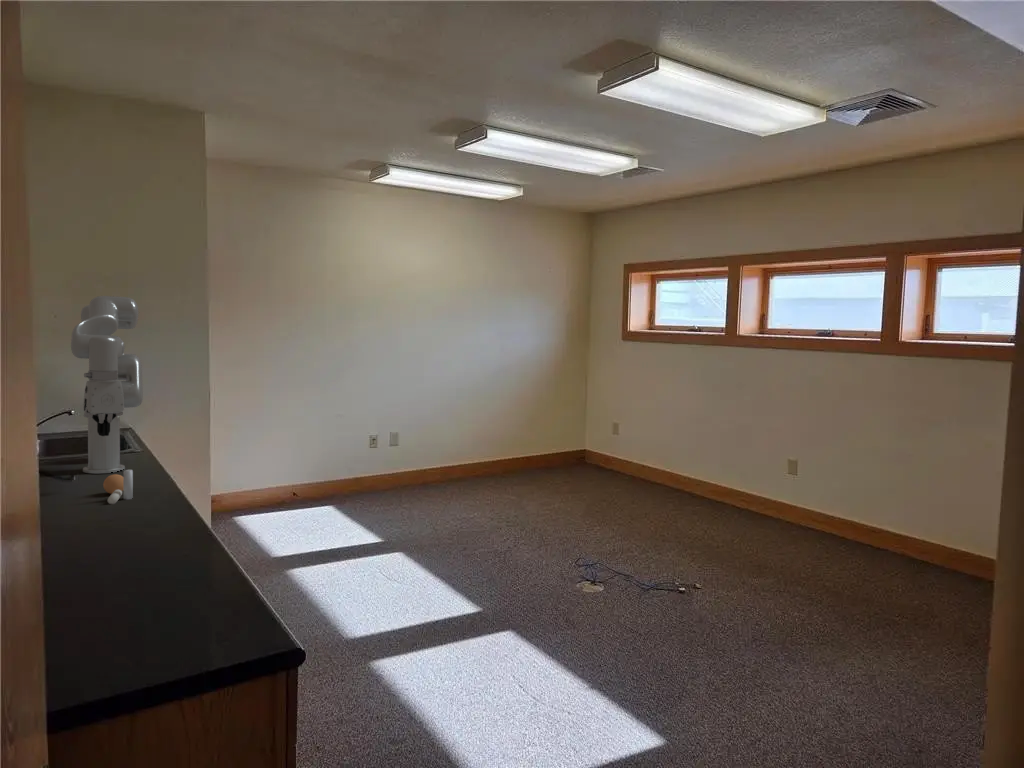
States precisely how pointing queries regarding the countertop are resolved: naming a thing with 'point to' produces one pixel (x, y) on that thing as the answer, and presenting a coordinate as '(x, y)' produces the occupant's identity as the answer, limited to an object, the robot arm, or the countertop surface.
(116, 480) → the ball
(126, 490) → the pin
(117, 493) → the pin
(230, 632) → the countertop surface
